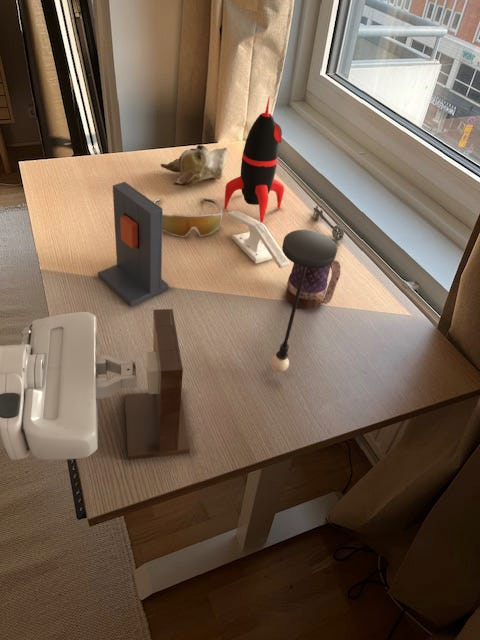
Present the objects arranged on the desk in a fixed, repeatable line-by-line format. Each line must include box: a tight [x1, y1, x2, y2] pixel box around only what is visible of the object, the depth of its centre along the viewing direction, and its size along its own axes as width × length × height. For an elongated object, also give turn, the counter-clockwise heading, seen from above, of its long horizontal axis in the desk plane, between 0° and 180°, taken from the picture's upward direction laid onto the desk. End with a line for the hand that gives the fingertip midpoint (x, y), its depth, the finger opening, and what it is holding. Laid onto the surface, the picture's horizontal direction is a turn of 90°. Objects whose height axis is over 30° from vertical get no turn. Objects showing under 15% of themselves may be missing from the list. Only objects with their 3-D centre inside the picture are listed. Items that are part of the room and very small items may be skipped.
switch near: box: [146, 350, 158, 394], centre depth 64 cm, size 1×3×4 cm, turn 12°
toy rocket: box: [223, 94, 285, 223], centre depth 108 cm, size 10×10×25 cm
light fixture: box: [271, 229, 338, 373], centre depth 72 cm, size 7×7×25 cm
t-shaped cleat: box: [227, 209, 291, 269], centre depth 103 cm, size 4×20×5 cm, turn 31°
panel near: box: [124, 308, 191, 461], centre depth 66 cm, size 8×10×17 cm
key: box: [312, 205, 345, 242], centre depth 112 cm, size 12×1×3 cm, turn 24°
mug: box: [285, 259, 342, 310], centre depth 90 cm, size 10×7×12 cm
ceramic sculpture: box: [160, 144, 229, 188], centre depth 120 cm, size 11×9×15 cm
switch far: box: [120, 215, 138, 249], centre depth 85 cm, size 1×3×4 cm, turn 44°
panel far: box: [97, 181, 169, 307], centre depth 87 cm, size 8×10×17 cm
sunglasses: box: [153, 198, 223, 238], centre depth 109 cm, size 14×15×5 cm
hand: (136, 373), depth 63 cm, fingers closed
